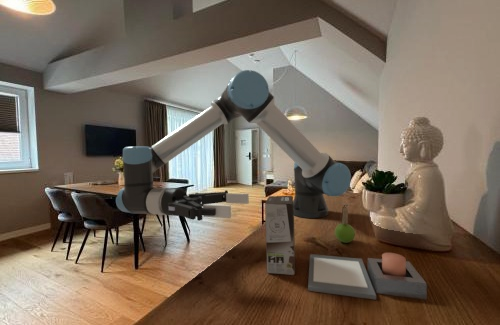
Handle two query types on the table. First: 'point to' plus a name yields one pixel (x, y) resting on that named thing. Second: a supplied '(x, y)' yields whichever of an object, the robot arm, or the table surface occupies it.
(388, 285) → the button housing
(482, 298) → the table surface
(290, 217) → the coffee box
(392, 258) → the button
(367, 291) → the drawing board
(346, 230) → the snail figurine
